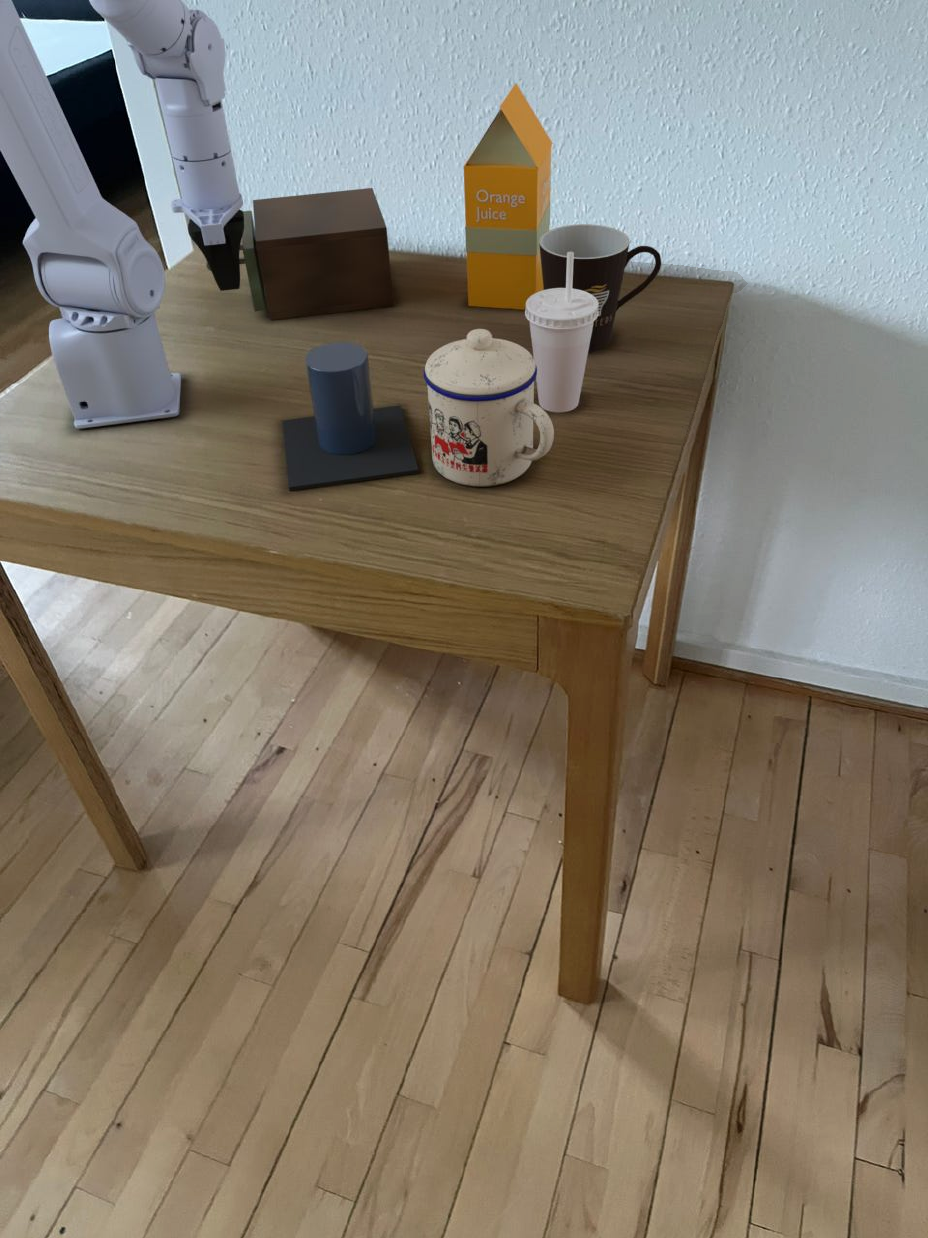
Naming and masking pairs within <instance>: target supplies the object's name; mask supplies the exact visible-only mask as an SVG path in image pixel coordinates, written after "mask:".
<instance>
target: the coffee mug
mask: <svg viewBox="0 0 928 1238" xmlns="http://www.w3.org/2000/svg"><path fill="white" fill-rule="evenodd" d="M630 243H631V241H630V238H629V236H628V235H627V234H626V233H624V232H623V231H621V230H619V229H616V228H614V227H610V226H606V225H601V224H592V223H591V224H589V223H587V224H586V223H579V224H569V225H563V226H558V227H555V228H552V229H549V231H548V232H546V233H544V234H543V235H542V236H541V238H540V240H539V245H540V256H541V266H542V277H543V288H544V290H547V289H553V288H566V270H567V252H574V260H573V284H572V289H578V290H582V291H585V292H588V293H590V294H591V295H593V296H594V297H595V298H596V299H597V300H598V303H599V306H598V313H599V315H598V317H597V319H596V320H595V321H594V323H593V329H592V335H591V339H590V345H589V350H588V354H589V353H594V352H597V351H600V350H602V349H604V348H606V347H608V346H609V344H610V342H611V339H612V334H613V330H614V324H615V319H616V314H617V312H618V310H619V309H620V308H621V307H622V306H624V305H625V304H626V303H628V302H629V301H631V300H632V299H633V298H635V297H636V296H637V295H639V294H640V293H641V292H643V291H644V290H645V289H646V288H647V287H648V286H649V285H650V284H651V283H652V282H653V281H654V280H655V278H656V277H657V275H658V274H659V272H660V271H661V267H662V259H661V258H662V257H661V254H660V252H659V251H658V250H657V249H655V248H654V247H653V246H649V245H639V246H636V247H634V248H632V249H630V250H629V248H630ZM641 253H642V254H643V253H648V254H650V255H652V256H653V257H654V261H655V263H654V267H653V270H652V271H651V273H650V274H649V275H648V276H647V278H646V279H645V280H644V281H643V282H642V283H641V284H639V285H638V286H636V287H635V288H634V289H633V290H631V291H629V292H628V293H627V294H626V295H625V296H623V297H621V298H620V295H621V289H622V283H623V278H624V274H625V269H626V268H627V266H628V264H629V262H630V261H631V260H632V259H633V258H634V257H635V256H637V255H638V254H639V255H640V254H641Z"/></svg>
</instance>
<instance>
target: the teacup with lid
mask: <svg viewBox="0 0 928 1238" xmlns="http://www.w3.org/2000/svg"><path fill="white" fill-rule="evenodd" d="M536 375H537V366H536V364H535V361H534V356H533V354H531V353H530V351H528V349H526V348H525V347H524V346H522V345H520V344H518V343H515V342H513V341H510V340H507V339H502V338H496V337H495V338H494V337H493V334H492V333H491V332H490V330H488V329H485V328H476V329H472V330H470V331H469V332H468V333H467V335H466V338H463V339H458V340H455V341H452V342H449V343H447V344H445V345H443V346H441V347H439V348H438V349H436V350H435V351H433V353H432V354H431V355H430V356H429V357H428V359H427V361H426V362H425V365H424V369H423V379H424V382H425V383H426V385H427V398H428V412H429V413H428V414H429V415H428V416H429V428H430V429H429V430H430V441H431V457H432V462H433V463H432V464H433V466H434V468H435V469H436V471H437V472H438V473H439V475H441V476H442V477H444V478H445V479H447V480H449V481H451V482H454V483H456V484H459V485H464V486H469V487H493V486H498V485H502V484H506V483H509V482H511V481H513V480H516V479H517V478H519V477H520V476H522V475H523V474H524V473H525V472H526V471H527V470H528V469H529V467H530V466H531V464H532V463H533V461H537V460H540V459H541V458H544V456H545V455H547V454H548V452H549V451H550V450H551V448H552V445H553V443H554V438H555V431H554V430H555V429H554V424H553V421H552V420H551V418H550V416H549V414H548V413H547V411H546V410H545V409H543V408H542V407H541V406H540V405H539V404H536V403H534V400H535V381H536ZM534 423H535V425H536V427H537V428H538V430H539V444H538V446H537V448H534Z"/></svg>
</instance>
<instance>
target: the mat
mask: <svg viewBox="0 0 928 1238" xmlns="http://www.w3.org/2000/svg"><path fill="white" fill-rule="evenodd" d="M374 414H375V423H376V432H377V439H376V442H375V443H374V445H373V446H371V447H370V448H369V449H367V450H365V451H363V452H360V453H356V454H351V455H336V454H331V453H329V452H326V451H324V450H323V449H322V448H321V447H320V445H319V442H318V436H317V430H316V424H315V418H314V416H305V417H299V418H291V419H284V420H282V430H283V431H282V432H283V441H284V442H283V443H284V452H285V462H286V473H287V482H288V483H287V484H288V491H290V492H293V491H299V490H307V489H313V488H314V489H315V488H321V487H330V486H336V485H343V484H350V483H358V482H365V481H373V480H379V479H387V478H394V477H400V476H401V477H402V476H409V475H417V474H419V473H420V469H419V465H418V461H417V458H416V455H415V451H414V448H413V445H412V441H411V437H410V434H409V433H410V432H409V430H408V426H407V422H406V419H405V415H404V412H403V408H402V405H400V404H398V405H392V406H385V407H384V406H383V407H377V408H374Z"/></svg>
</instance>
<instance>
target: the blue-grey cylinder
mask: <svg viewBox="0 0 928 1238" xmlns="http://www.w3.org/2000/svg"><path fill="white" fill-rule="evenodd" d="M304 361H305V368H306V374H307V380H308V386H309V393H310V398H311V405H312V410H313V417H314V418H315V424H316V430H317V436H318V442H319V445H320V447H321V448H322V449H323V450H324V451H326V452H329V453H331V454H336V455H351V454H356V453H360V452H363V451H365V450H367V449H369V448H370V447H371V446H373V445H374V443H375V442H376V439H377V432H376V423H375V414H374V409H375V406H374V398H373V388H372V380H371V372H370V363H369V354H368V351H367V349H366V348H365V347H363V346H362V345H359V344H356V343H354V342H353V343H352V342H346V341H345V342H344V341H343V342H342V341H340V342H338V341H337V342H330V343H325V344H321V345H319V346H317V347H314V348H313V349H311V350H310V351H309V352H307V354H306V355H305V360H304Z"/></svg>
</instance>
